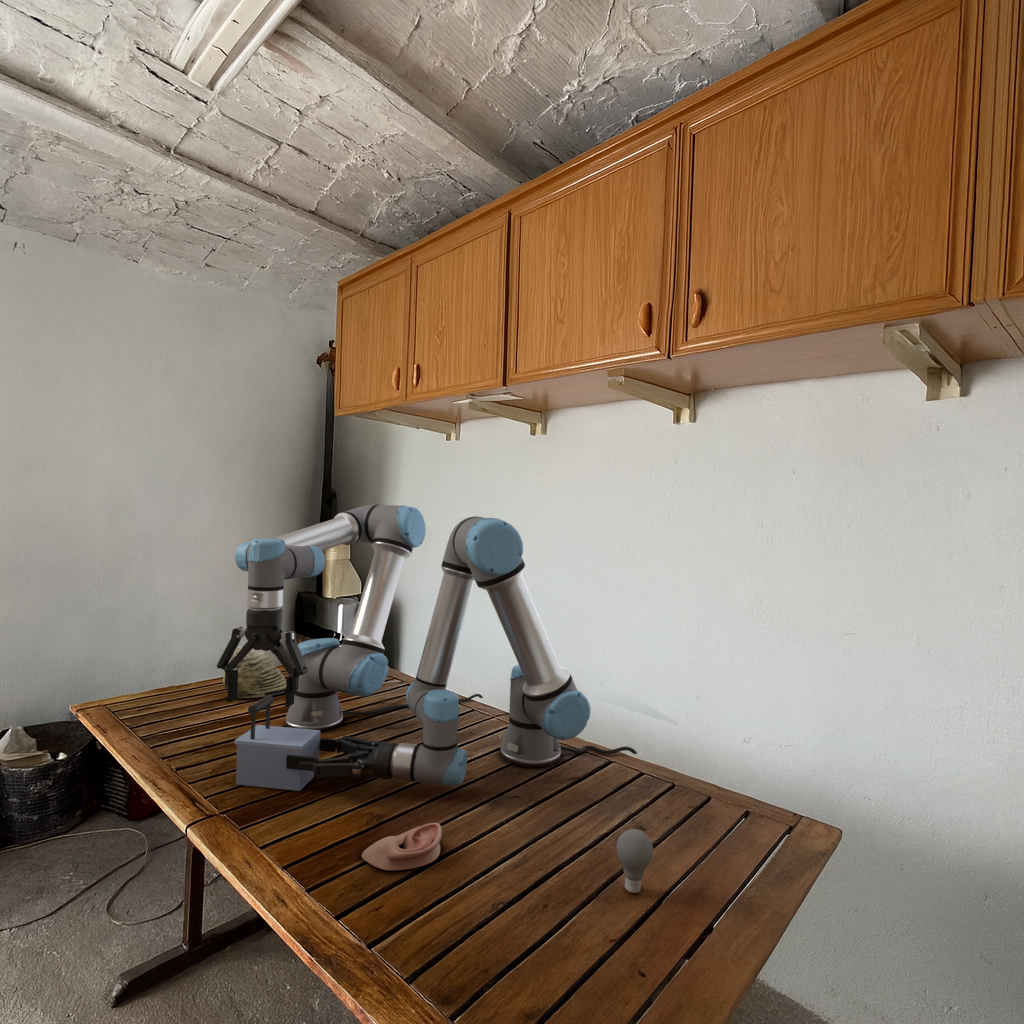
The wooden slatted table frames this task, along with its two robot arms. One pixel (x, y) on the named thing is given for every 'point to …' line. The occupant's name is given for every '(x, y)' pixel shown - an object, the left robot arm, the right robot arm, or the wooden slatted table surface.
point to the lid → (274, 731)
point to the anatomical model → (406, 849)
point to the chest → (273, 766)
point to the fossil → (257, 675)
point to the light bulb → (634, 857)
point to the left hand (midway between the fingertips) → (260, 702)
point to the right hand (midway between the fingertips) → (298, 752)
